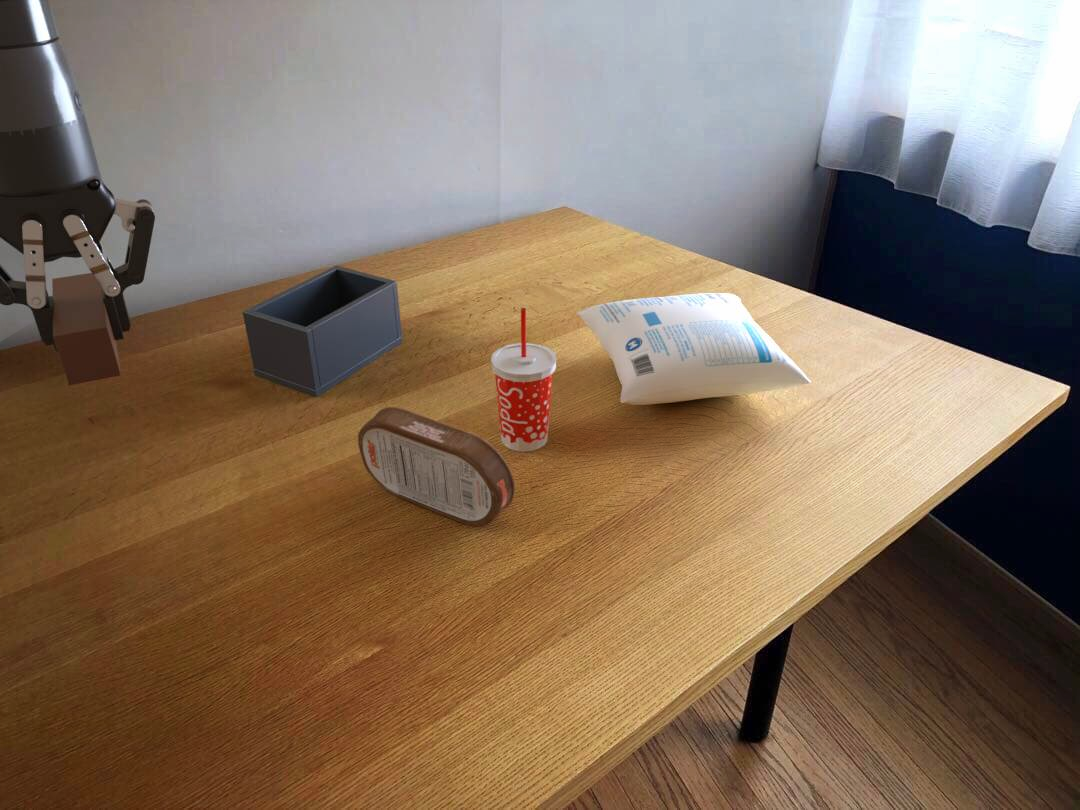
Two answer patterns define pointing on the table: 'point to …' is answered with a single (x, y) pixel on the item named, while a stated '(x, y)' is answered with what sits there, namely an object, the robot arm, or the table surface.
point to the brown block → (83, 330)
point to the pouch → (689, 348)
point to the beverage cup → (523, 392)
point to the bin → (323, 329)
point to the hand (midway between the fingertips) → (89, 340)
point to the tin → (436, 466)
